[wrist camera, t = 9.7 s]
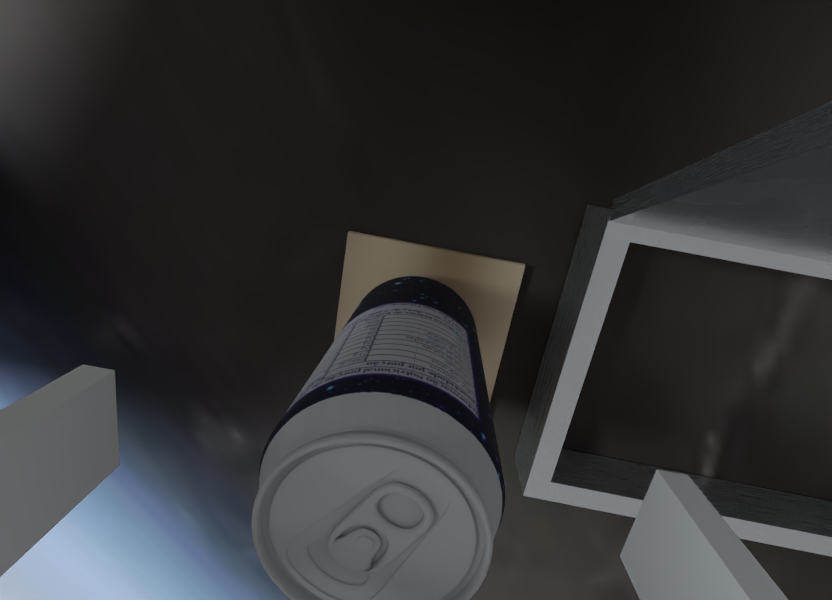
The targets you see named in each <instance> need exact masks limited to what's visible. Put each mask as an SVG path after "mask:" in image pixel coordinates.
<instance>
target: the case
mask: <svg viewBox="0 0 832 600" xmlns="http://www.w3.org/2000/svg"><path fill="white" fill-rule="evenodd" d="M630 242H632V243H637V244H643V245H648V246H653V247H659V248H664V249H669V250H675V251H680V252H685V253H691V254H696V255H702V256H707V257H712V258H718V259H723V260H728V261H734V262H739V263H744V264H750V265H755V266H761V267H766V268H771V269H777V270H782V271H787V272H793V273H798V274H803V275H809V276H814V277H820V278H825V279H830V280H832V101H829V102H827V103H825V104H823V105H821V106H818V107H816V108H814V109H812V110H810V111H807V112H805V113H803V114H801V115H799V116H796V117H794V118H792V119H790V120H788V121H785V122H783V123H781V124H779V125H777V126H774V127H772V128H770V129H768V130H766V131H763V132H761V133H759V134H757V135H755V136H752V137H750V138H748V139H746V140H744V141H741V142H739V143H737V144H735V145H733V146H730V147H728V148H726V149H724V150H722V151H719V152H717V153H715V154H713V155H711V156H708V157H706V158H704V159H702V160H700V161H697V162H695V163H693V164H691V165H689V166H686V167H684V168H682V169H680V170H678V171H675V172H673V173H671V174H669V175H667V176H664V177H662V178H660V179H658V180H656V181H653V182H651V183H649V184H647V185H645V186H642V187H640V188H638V189H636V190H634V191H631V192H629V193H627V194H625V195H623V196H620V197H618V198H616V199H614V201H613V206H612V209H608V208H603V207H598V206H592V205H587V208H586V211H585V215H584V218H583V222H582V225H581V228H580V232H579V235H578V239H577V242H576V246H575V249H574V252H573V256H572V259H571V263H570V266H569V270H568V273H567V276H566V280H565V283H564V287H563V290H562V293H561V297H560V300H559V304H558V307H557V311H556V314H555V317H554V321H553V324H552V328H551V331H550V335H549V338H548V341H547V345H546V348H545V352H544V355H543V358H542V362H541V365H540V369H539V372H538V376H537V379H536V382H535V386H534V389H533V393H532V396H531V400H530V403H529V406H528V410H527V413H526V417H525V420H524V423H523V427H522V430H521V434H520V437H519V441H518V444H517V447H516V451H515V454H514V459H515V463H516V467H517V472H518V476H519V480H520V485H521V489H522V493H523V496H528V497H533V498H538V499H543V500H548V501H553V502H558V503H563V504H568V505H573V506H578V507H583V508H588V509H593V510H598V511H604V512H609V513H614V514H619V515H624V516H629V517H634V518H636V517H637V514H638V512H639V510H640V507H641V505H642V503H643V500H644V498H645V496H646V493H647V491H648V489H649V486H650V484H651V482H652V479H653V477H654V475H655V472H656V470H657V469H658V470H663V471H669V472H674V473H680V474H685V475H689V477H690V478H691V479H692V480H693V482H694V483H695V484H696V485H697V487H698V488H699V489H700V490H701V492H702V493H703V494H704V495H705V497H706V498H707V499H708V500H709V502H710V503H711V504H712V505H713V506H714V508H715V509H716V510H717V511H718V513H719V514H720V515H721V516H722V518H723V519H724V520H725V521H726V523H727V524H728V525H729V526H730V528H731V529H732V530H733V531H734V533H735V534H736V535H737V536H738V538H740V539H745V540H750V541H755V542H760V543H765V544H771V545H776V546H781V547H786V548H791V549H796V550H801V551H806V552H811V553H816V554H821V555H826V556H831V557H832V501H828V500H823V499H818V498H813V497H807V496H802V495H797V494H792V493H787V492H782V491H777V490H772V489H766V488H761V487H756V486H751V485H746V484H741V483H736V482H731V481H725V480H720V479H715V478H710V477H705V476H700V475H695V474H690V473H685V472H679V471H674V470H669V469H664V468H659V467H654V466H649V465H644V464H638V463H633V462H628V461H623V460H618V459H613V458H608V457H603V456H598V455H592V454H587V453H582V452H577V451H572V450H567V449H562V446H563V443H564V440H565V437H566V434H567V431H568V428H569V425H570V422H571V419H572V416H573V413H574V410H575V407H576V404H577V401H578V398H579V395H580V392H581V389H582V386H583V383H584V380H585V376H586V373H587V370H588V367H589V364H590V361H591V358H592V355H593V352H594V349H595V346H596V343H597V340H598V337H599V334H600V331H601V328H602V325H603V322H604V319H605V316H606V313H607V310H608V307H609V304H610V301H611V298H612V295H613V292H614V289H615V286H616V283H617V280H618V277H619V274H620V271H621V268H622V265H623V262H624V259H625V256H626V252H627V249H628V246H629V243H630Z"/></svg>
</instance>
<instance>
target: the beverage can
mask: <svg viewBox="0 0 832 600" xmlns="http://www.w3.org/2000/svg"><path fill="white" fill-rule="evenodd" d="M504 505H505V486H504V480H503V474H502V468H501V463H500V457H499V452H498V446H497V441H496V435H495V430H494V424H493V419H492V413H491V407H490V402H489V396H488V391H487V385H486V380H485V374H484V369H483V363H482V358H481V352H480V347H479V341H478V335H477V330H476V325H475V321H474V318H473V315H472V313H471V311H470V309H469V307H468V306H467V304H466V303H465V302H464V300H463V299H462V298H461V297H460V296H459V295H458V294H457V293H456V292H455V291H454V290H452V289H451V288H449V287H448V286H446V285H445V284H443V283H441V282H438V281H436V280H433V279H430V278H425V277H419V276H405V277H398V278H394V279H391V280H388V281H386V282H384V283H382V284H380V285H378V286H377V287H375V288H374V289H373V290H371V291H370V292H369V293H368V294H367V295H366V296H365V297H364V298H363V300H362V301H361V302H360V304H359V305H358V307H357V308H356V310H355V311H354V313H353V314H352V316H351V317H350V319H349V320H348V322H347V323H346V325H345V326H344V327H343V329H342V330H341V332H340V333H339V335H338V336H337V338H336V339H335V341H334V342H333V344H332V345H331V347H330V348H329V350H328V351H327V353H326V354H325V356H324V357H323V358H322V360H321V361H320V363H319V364H318V366H317V367H316V369H315V370H314V372H313V373H312V375H311V376H310V378H309V379H308V381H307V382H306V384H305V385H304V387H303V388H302V390H301V391H300V392H299V394H298V395H297V397H296V398H295V400H294V401H293V403H292V404H291V406H290V407H289V409H288V410H287V412H286V413H285V415H284V416H283V418H282V419H281V421H280V422H279V423H278V425H277V426H276V428H275V429H274V431H273V432H272V434H271V436H270V437H269V439H268V441H267V443H266V446H265V448H264V451H263V454H262V458H261V462H260V469H259V491H258V493H257V496H256V499H255V502H254V506H253V513H252V521H251V524H252V537H253V541H254V545H255V549H256V552H257V554H258V557H259V559H260V561H261V563H262V565H263V567H264V569H265V570H266V572H267V573H268V575H269V576H270V578H271V579H272V580H273V582H274V583H275V584H276V585H277V586H278V587H279V588H280V589H281V591H282V592H283V593H285V594H286V595H287V596H288V597H289V598H290V599H292V600H469V599H470V598H471V597H472V596H473V595H474V593H475V592H476V591H477V590H478V589H479V587H480V585H481V583H482V582H483V580H484V578H485V577H486V574H487V571H488V568H489V565H490V562H491V558H492V551H493V539H494V538H495V535H496V533H497V531H498V528H499V526H500V523H501V520H502V516H503V512H504Z"/></svg>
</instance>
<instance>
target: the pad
mask: <svg viewBox="0 0 832 600" xmlns="http://www.w3.org/2000/svg"><path fill="white" fill-rule="evenodd" d="M524 269H525V264H524V263H519V262H513V261H508V260H503V259H497V258H492V257H487V256H481V255H476V254H471V253H465V252H460V251H455V250H450V249H444V248H439V247H434V246H428V245H423V244H418V243H412V242H407V241H402V240H396V239H391V238H386V237H380V236H375V235H370V234H364V233H359V232H354V231H349V232H348V235H347V243H346V251H345V259H344V267H343V275H342V282H341V290H340V298H339V306H338V314H337V322H336V329H335V337H334V341H335V339H336V338H337V336H338V335H339V333H340V332H341V330H342V329H343V327H344V326H345V325H346V323H347V322H348V320H349V319H350V317H351V316H352V314H353V313H354V311H355V310H356V308H357V307H358V305H359V304H360V302H361V301H362V300H363V298H364V297H365V296H366V295H367V294H368V293H369V292H370V291H371V290H373V289H374V288H375V287H377V286H378V285H380V284H382V283H384V282H386V281H388V280H391V279H394V278H398V277H405V276H419V277H425V278H430V279H433V280H436V281H438V282H441V283H443V284H445V285H446V286H448V287H449V288H451V289H452V290H454V291H455V292H456V293H457V294H458V295H459V296H460V297H461V298H462V299H463V300H464V302H465V303H466V304H467V306H468V307H469V309H470V311H471V313H472V315H473V318H474V321H475V325H476V330H477V335H478V341H479V347H480V352H481V358H482V363H483V369H484V374H485V380H486V385H487V391H488V396H489V402H490V400H491V396H492V392H493V388H494V385H495V381H496V377H497V373H498V369H499V365H500V362H501V358H502V354H503V350H504V346H505V342H506V338H507V335H508V331H509V327H510V323H511V319H512V315H513V312H514V308H515V304H516V300H517V296H518V292H519V288H520V285H521V281H522V277H523V273H524Z"/></svg>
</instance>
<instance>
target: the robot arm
mask: <svg viewBox="0 0 832 600" xmlns="http://www.w3.org/2000/svg"><path fill="white" fill-rule="evenodd" d="M119 465H120V462H119V442H118V423H117V404H116V385H115V370H111V369H105V368H100V367H94V366H89V365H81V366H79V367H77V368H76V369H74V370H72V371H70V372H69V373H67V374H65V375H63V376H61V377H60V378H58V379H56V380H54V381H52V382H51V383H49V384H47V385H45V386H43V387H42V388H40V389H38V390H36V391H35V392H33V393H31V394H29V395H27V396H26V397H24V398H22V399H20V400H18V401H17V402H15V403H13V404H11V405H9V406H8V407H6V408H4V409H2V410H1V411H0V577H1V576H2V575H3V574H4V573H5V572H6V571H7V570H8V569H9V568H10V567H11V566H12V565H13V564H14V563H16V562H17V561H18V560H19V559H20V558H21V557H22V556H23V555H24V554H25V553H26V552H27V551H28V550H29V549H30V548H32V547H33V546H34V545H35V544H36V543H37V542H38V541H39V540H40V539H41V538H42V537H43V536H44V535H45V534H46V533H48V532H49V531H50V530H51V529H52V528H53V527H54V526H55V525H56V524H57V523H58V522H59V521H60V520H61V519H62V518H64V517H65V516H66V515H67V514H68V513H69V512H70V511H71V510H72V509H73V508H74V507H75V506H76V505H77V504H78V503H80V502H81V501H82V500H83V499H84V498H85V497H86V496H87V495H88V494H89V493H90V492H91V491H92V490H93V489H94V488H96V487H97V486H98V485H99V484H100V483H101V482H102V481H103V480H104V479H105V478H106V477H107V476H108V475H109V474H110V473H112V472H113V471H114V470H115V469H116V468H117V467H118V466H119ZM620 558H621V560H622V562H623V564H624V566H625V568H626V571H627V573H628V575H629V577H630V579H631V581H632V584H633V586H634V588H635V590H636V592H637V594H638V597H639V599H640V600H788V599H787V597H786V596H785V595H784V594H783V592H782V591H781V590H780V589H779V587H778V586H777V585H776V584H775V582H774V581H773V580H772V579H771V577H770V576H769V575H768V574H767V572H766V571H765V570H764V569H763V567H762V566H761V565H760V564H759V562H758V561H757V560H756V559H755V557H754V556H753V555H752V554H751V553H750V551H749V550H748V549H747V548H746V546H745V545H744V544H743V543H742V541H741V540H740V539H739V538H738V536H737V535H736V534H735V533H734V531H733V530H732V529H731V528H730V526H729V525H728V524H727V523H726V521H725V520H724V519H723V518H722V516H721V515H720V514H719V513H718V511H717V510H716V509H715V508H714V506H713V505H712V504H711V503H710V502H709V500H708V499H707V498H706V497H705V495H704V494H703V493H702V492H701V490H700V489H699V488H698V487H697V485H696V484H695V483H694V482H693V480H692V479H691V478H690V477H689V475H685V474H680V473H674V472H669V471H663V470H658V469H657V470H656V472H655V475H654V477H653V479H652V482H651V484H650V486H649V489H648V491H647V493H646V496H645V498H644V500H643V503H642V505H641V507H640V510H639V512H638V514H637V517H636V519H635V521H634V524H633V526H632V528H631V531H630V533H629V535H628V538H627V540H626V542H625V545H624V547H623V549H622V552H621V554H620Z"/></svg>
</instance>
